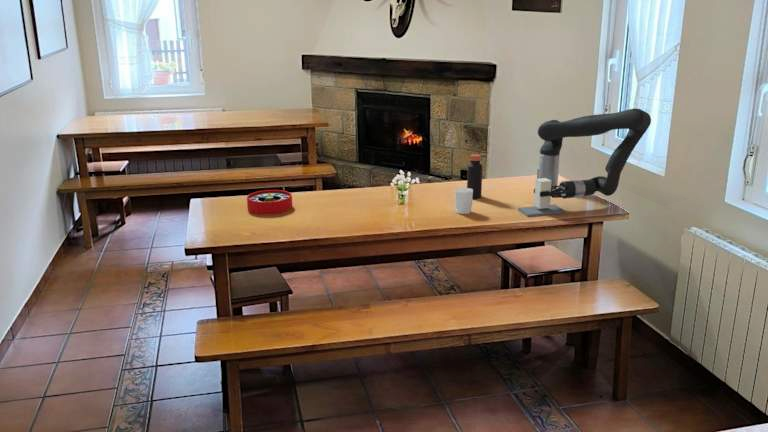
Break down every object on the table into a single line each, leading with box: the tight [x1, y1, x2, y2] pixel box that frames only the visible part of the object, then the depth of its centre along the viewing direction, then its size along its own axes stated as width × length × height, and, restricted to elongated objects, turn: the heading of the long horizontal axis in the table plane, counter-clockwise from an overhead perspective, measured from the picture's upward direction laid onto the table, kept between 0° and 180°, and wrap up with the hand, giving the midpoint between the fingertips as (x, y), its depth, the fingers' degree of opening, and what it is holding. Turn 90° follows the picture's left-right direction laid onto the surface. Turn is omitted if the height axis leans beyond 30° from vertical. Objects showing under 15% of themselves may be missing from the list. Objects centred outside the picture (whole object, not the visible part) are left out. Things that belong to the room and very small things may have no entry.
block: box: [533, 178, 552, 209], centre depth 299 cm, size 5×5×12 cm
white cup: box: [454, 187, 473, 215], centre depth 301 cm, size 8×8×10 cm
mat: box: [517, 204, 567, 218], centre depth 302 cm, size 18×10×1 cm, turn 104°
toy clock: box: [246, 189, 293, 215], centre depth 310 cm, size 20×6×20 cm
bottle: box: [466, 153, 483, 200], centre depth 321 cm, size 7×7×20 cm
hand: (537, 192), depth 298 cm, fingers closed on block, 5 cm apart
